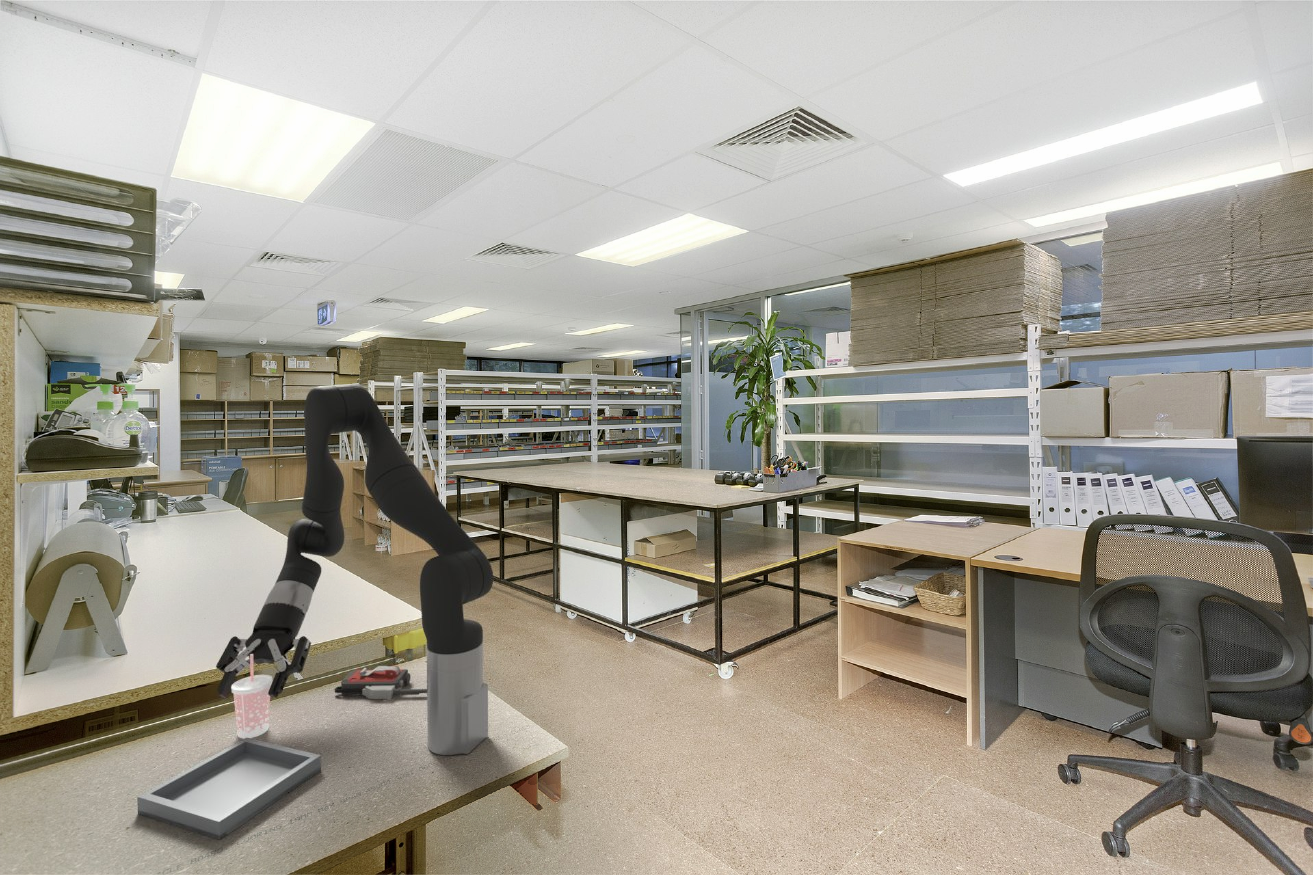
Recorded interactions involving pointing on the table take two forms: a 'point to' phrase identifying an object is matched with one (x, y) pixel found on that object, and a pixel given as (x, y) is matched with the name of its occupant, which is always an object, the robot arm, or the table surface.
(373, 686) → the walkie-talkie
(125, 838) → the table surface
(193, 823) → the tray
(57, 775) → the table surface
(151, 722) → the table surface
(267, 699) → the beverage cup
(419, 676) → the table surface
